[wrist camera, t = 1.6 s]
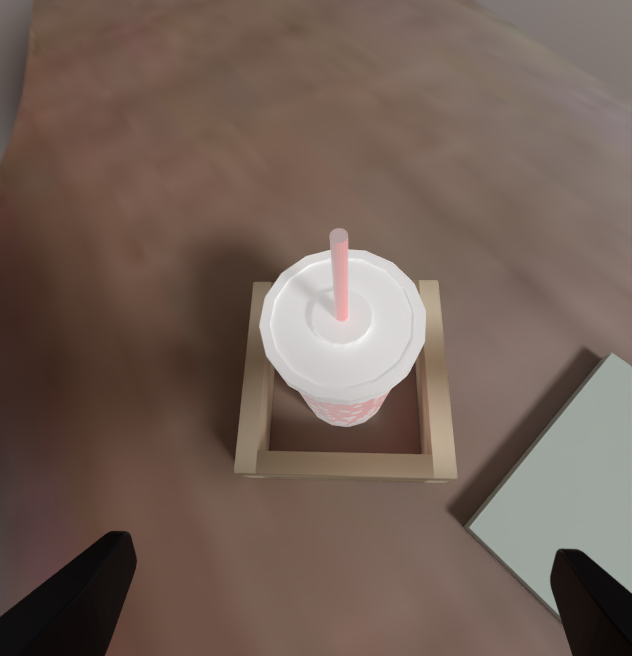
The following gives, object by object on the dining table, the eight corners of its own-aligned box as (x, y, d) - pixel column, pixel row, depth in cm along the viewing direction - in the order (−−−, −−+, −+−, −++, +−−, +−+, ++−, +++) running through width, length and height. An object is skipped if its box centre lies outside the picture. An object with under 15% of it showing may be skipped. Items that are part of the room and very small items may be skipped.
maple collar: (443, 482, 21) (457, 478, 18) (248, 477, 22) (233, 472, 19) (428, 305, 25) (438, 280, 22) (263, 306, 26) (253, 282, 23)
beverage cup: (311, 323, 25) (271, 129, 12) (411, 352, 24) (482, 170, 11) (274, 420, 23) (181, 307, 10) (383, 457, 22) (431, 380, 9)
